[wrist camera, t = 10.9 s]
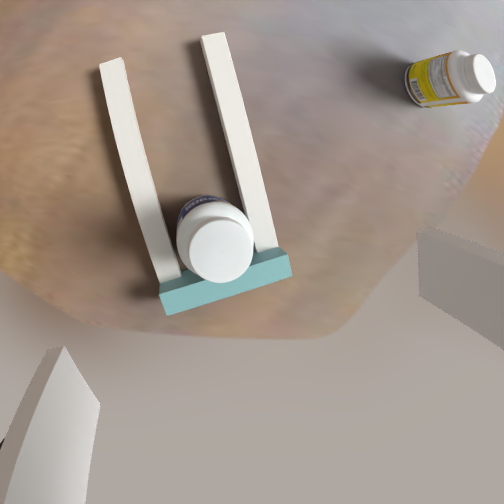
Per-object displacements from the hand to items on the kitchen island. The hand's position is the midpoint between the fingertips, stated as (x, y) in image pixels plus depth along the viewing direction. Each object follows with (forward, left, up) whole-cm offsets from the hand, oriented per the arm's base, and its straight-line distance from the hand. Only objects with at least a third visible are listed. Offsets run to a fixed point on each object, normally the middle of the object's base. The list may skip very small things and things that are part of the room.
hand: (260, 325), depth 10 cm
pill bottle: (0, 0, -20) cm, 20 cm away
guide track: (-5, 0, -19) cm, 20 cm away
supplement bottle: (-9, +27, -20) cm, 35 cm away
